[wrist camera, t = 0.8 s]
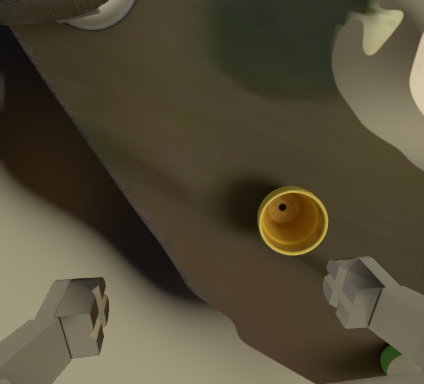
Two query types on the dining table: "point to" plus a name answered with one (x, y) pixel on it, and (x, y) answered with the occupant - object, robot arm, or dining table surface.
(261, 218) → the plant pot
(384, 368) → the wine bottle
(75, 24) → the cooker
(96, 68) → the dining table surface
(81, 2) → the lid
